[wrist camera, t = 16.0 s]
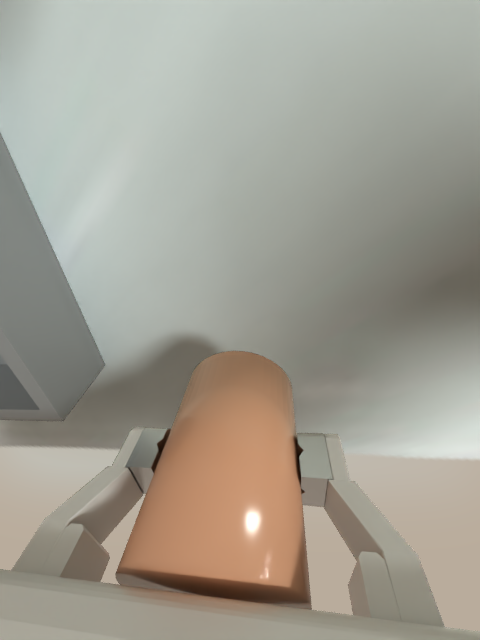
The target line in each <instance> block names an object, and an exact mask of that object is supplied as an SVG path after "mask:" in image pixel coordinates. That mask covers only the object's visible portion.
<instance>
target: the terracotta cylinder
mask: <svg viewBox="0 0 480 640" xmlns="http://www.w3.org/2000/svg"><path fill="white" fill-rule="evenodd" d="M305 540H306V539H305V528H304V517H303V505H302V494H301V486H300V475H299V460H298V452H297V440H296V426H295V415H294V403H293V392H292V385H291V382H290V380H289V378H288V376H287V375H286V373H285V372H284V371H283V370H282V368H280V367H279V366H278V365H277V364H276V363H274V362H273V361H271V360H269V359H267V358H265V357H263V356H260V355H258V354H254V353H250V352H244V351H227V352H221V353H218V354H214V355H212V356H210V357H208V358H206V359H204V360H203V361H202V362H201V363H199V364H198V365H197V367H196V368H195V369H194V371H193V373H192V375H191V378H190V381H189V383H188V386H187V388H186V391H185V394H184V396H183V399H182V402H181V404H180V407H179V409H178V412H177V415H176V417H175V420H174V422H173V425H172V428H171V430H170V433H169V436H168V438H167V441H166V443H165V446H164V449H163V451H162V454H161V456H160V459H159V462H158V464H157V467H156V470H155V472H154V475H153V477H152V480H151V483H150V485H149V488H148V490H147V493H146V496H145V498H144V501H143V504H142V506H141V509H140V511H139V514H138V517H137V519H136V522H135V525H134V527H133V530H132V532H131V535H130V538H129V540H128V543H127V545H126V548H125V551H124V553H123V556H122V558H121V561H120V564H119V566H118V569H117V572H116V579H117V581H118V583H119V584H120V585H126V586H133V587H141V588H149V589H156V590H164V591H172V592H179V593H187V594H195V595H202V596H210V597H218V598H225V599H233V600H241V601H248V602H256V603H264V604H271V605H279V606H287V607H294V608H302V609H310V610H312V608H311V596H310V585H309V573H308V563H307V551H306V541H305Z"/></svg>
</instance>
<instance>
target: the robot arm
mask: <svg viewBox="0 0 480 640" xmlns="http://www.w3.org/2000/svg"><path fill="white" fill-rule="evenodd" d="M170 430H171V429H166V428H147V427H134V428H133V429H132V430H131V431H130V433H129V435H128V436H127V438H126V440H125V442H124V444H123V446H122V448H121V449H120V451H119V453H118V455H117V457H116V459H115V461H114V462H113V464H112V466H111V467H109V466H108V467H107V468H105V469H104V470H103V471H102V472H101V473H100V474H98V475H97V476H96V477H95V478H93V479H92V480H91V481H90V482H89V483H87V484H86V485H85V486H84V487H82V488H81V489H80V490H79V491H78V492H76V493H75V494H74V495H73V496H72V497H70V498H69V499H68V500H67V501H66V502H64V503H63V504H62V505H61V506H60V507H58V508H57V509H56V510H55V511H54V512H52V513H51V514H50V515H49V516H48V517H46V518H45V519H44V521H43V522H42V524H41V525H40V527H39V528H38V530H37V531H36V533H35V535H34V536H33V538H32V539H31V541H30V542H29V544H28V545H27V547H26V548H25V550H24V551H23V553H22V555H21V556H20V558H19V559H18V561H17V562H16V564H15V565H14V567H13V569H12V570H3V569H0V640H480V632H478V631H470V630H463V629H455V628H447V627H444V624H443V621H442V618H441V615H440V613H439V610H438V607H437V605H436V602H435V599H434V597H433V594H432V591H431V589H430V586H429V583H428V581H427V578H426V575H425V572H424V570H423V567H422V565H421V562H420V559H419V556H418V555H417V554H416V552H415V551H414V550H413V549H412V548H411V547H410V545H408V543H407V542H406V541H405V539H404V538H403V537H402V536H401V535H400V534H399V532H398V531H397V530H396V529H395V528H394V527H393V525H392V524H391V523H390V522H389V521H388V520H387V518H386V517H385V516H384V515H383V514H382V513H381V511H380V510H379V509H378V508H377V507H376V505H374V503H373V502H372V501H371V500H370V498H369V497H368V496H367V495H366V494H365V493H364V491H363V490H362V489H361V488H360V487H359V486H358V484H357V483H356V482H355V481H350V477H349V473H348V470H347V466H346V461H345V457H344V453H343V449H342V445H341V441H340V437H339V436H338V434H323V433H297V435H296V440H297V452H298V460H299V475H300V486H301V494H302V505H308V506H317V507H325V508H324V509H325V510H326V512H327V514H328V515H329V517H330V519H331V520H332V522H333V523H334V525H335V527H336V528H337V530H338V531H339V533H340V535H341V536H342V538H343V540H344V541H345V543H346V544H347V546H348V548H349V549H350V551H351V552H352V554H353V556H354V557H355V559H356V561H357V563H356V565H355V568H354V571H353V573H352V576H351V579H350V581H349V584H348V588H349V594H350V599H351V605H352V611H353V615H347V614H340V613H333V612H324V611H317V610H310V609H302V608H294V607H287V606H279V605H271V604H264V603H256V602H248V601H241V600H233V599H225V598H218V597H210V596H202V595H195V594H187V593H179V592H172V591H164V590H156V589H149V588H141V587H133V586H126V585H118V584H110V583H103V582H100V581H101V579H102V576H103V574H104V571H105V569H106V566H107V564H108V561H109V559H110V557H109V553H108V552H107V551H106V550H105V549H104V548H103V546H102V545H101V543H102V542H103V541H104V540H105V539H106V538H107V536H108V535H109V534H110V533H111V532H112V531H113V529H114V528H115V527H116V526H117V525H118V524H119V522H120V521H121V520H122V519H123V518H124V517H125V516H126V514H127V513H128V512H129V511H130V510H131V509H132V507H133V506H134V505H135V504H136V503H137V501H139V499H140V498H141V497H142V496H143V494H146V493H147V490H148V488H149V485H150V483H151V480H152V477H153V475H154V472H155V470H156V467H157V464H158V462H159V459H160V456H161V454H162V451H163V449H164V446H165V443H166V441H167V438H168V436H169V433H170Z"/></svg>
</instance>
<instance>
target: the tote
mask: <svg viewBox="0 0 480 640" xmlns="http://www.w3.org/2000/svg"><path fill="white" fill-rule="evenodd" d="M104 366H105V364H104V361H103V359H102V357H101V355H100V353H99V350H98V348H97V346H96V344H95V342H94V339H93V337H92V335H91V333H90V330H89V328H88V326H87V324H86V322H85V319H84V317H83V315H82V313H81V311H80V308H79V306H78V304H77V302H76V300H75V297H74V295H73V293H72V291H71V288H70V286H69V284H68V282H67V280H66V277H65V275H64V273H63V271H62V269H61V266H60V264H59V262H58V260H57V258H56V255H55V253H54V251H53V249H52V246H51V244H50V242H49V240H48V238H47V235H46V233H45V231H44V229H43V227H42V224H41V222H40V220H39V218H38V216H37V213H36V211H35V209H34V207H33V204H32V202H31V200H30V198H29V196H28V193H27V191H26V189H25V187H24V185H23V182H22V180H21V178H20V176H19V174H18V171H17V169H16V167H15V165H14V162H13V160H12V158H11V156H10V154H9V151H8V149H7V147H6V145H5V143H4V140H3V138H2V136H1V134H0V420H31V421H64V419H65V418H66V417H67V415H68V414H69V413H70V411H71V410H72V409H73V407H74V406H75V405H76V403H77V402H78V401H79V399H80V398H81V397H82V395H83V394H84V393H85V391H86V390H87V389H88V387H89V386H90V385H91V383H92V382H93V381H94V379H95V378H96V377H97V375H98V374H99V373H100V371H101V370H102V369H103V367H104Z"/></svg>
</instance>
